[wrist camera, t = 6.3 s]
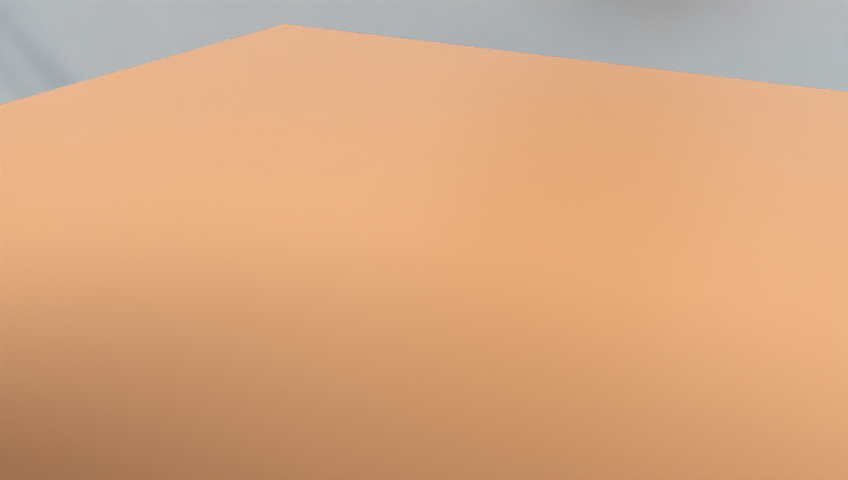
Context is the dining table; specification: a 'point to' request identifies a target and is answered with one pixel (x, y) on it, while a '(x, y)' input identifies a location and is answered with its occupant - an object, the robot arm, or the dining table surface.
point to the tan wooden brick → (421, 269)
